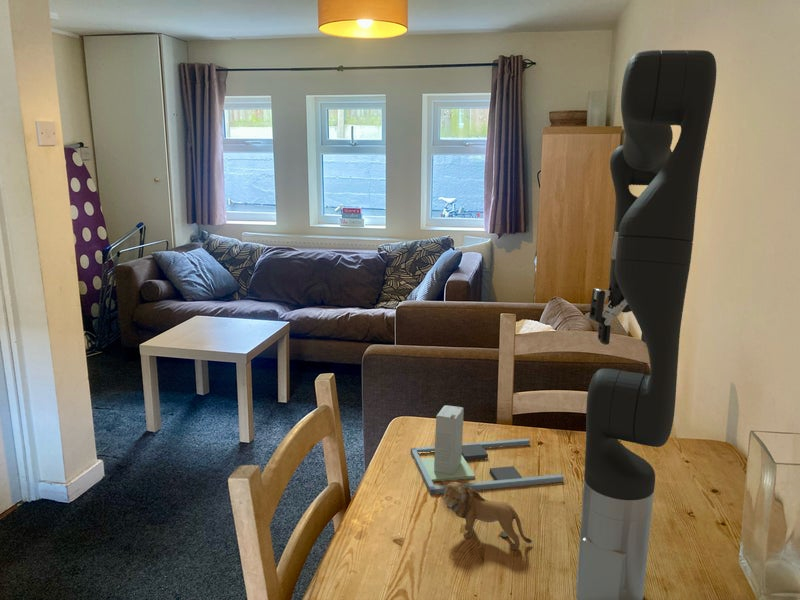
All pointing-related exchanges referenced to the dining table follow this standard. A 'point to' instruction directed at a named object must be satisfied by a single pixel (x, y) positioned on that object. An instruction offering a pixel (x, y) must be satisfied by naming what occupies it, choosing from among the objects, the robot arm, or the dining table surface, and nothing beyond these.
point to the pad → (460, 473)
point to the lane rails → (484, 484)
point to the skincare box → (448, 439)
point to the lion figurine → (482, 511)
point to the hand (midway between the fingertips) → (625, 342)
